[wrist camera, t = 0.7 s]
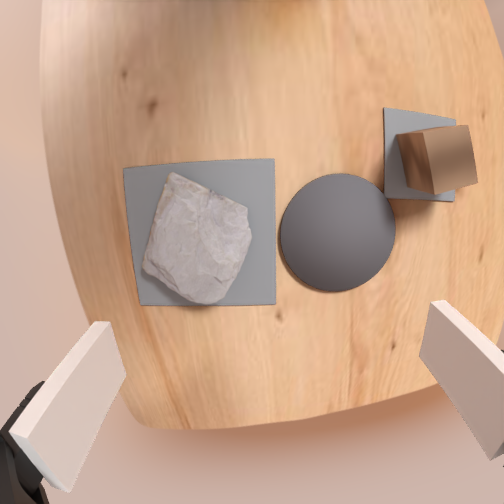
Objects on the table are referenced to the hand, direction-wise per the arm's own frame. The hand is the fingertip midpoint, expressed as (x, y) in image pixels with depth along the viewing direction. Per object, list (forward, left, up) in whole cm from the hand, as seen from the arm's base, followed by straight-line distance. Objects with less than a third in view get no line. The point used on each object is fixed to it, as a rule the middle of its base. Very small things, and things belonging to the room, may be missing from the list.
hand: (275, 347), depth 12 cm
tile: (-8, +19, -22) cm, 30 cm away
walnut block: (-8, +19, -22) cm, 30 cm away
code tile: (+1, -6, -22) cm, 23 cm away
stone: (+1, -6, -22) cm, 23 cm away
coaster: (+1, +9, -22) cm, 24 cm away
